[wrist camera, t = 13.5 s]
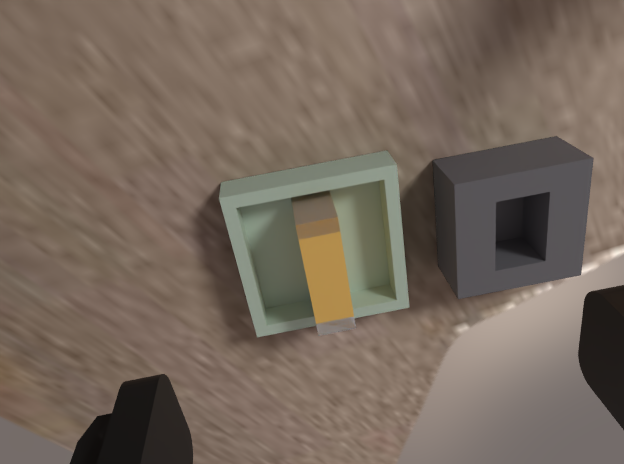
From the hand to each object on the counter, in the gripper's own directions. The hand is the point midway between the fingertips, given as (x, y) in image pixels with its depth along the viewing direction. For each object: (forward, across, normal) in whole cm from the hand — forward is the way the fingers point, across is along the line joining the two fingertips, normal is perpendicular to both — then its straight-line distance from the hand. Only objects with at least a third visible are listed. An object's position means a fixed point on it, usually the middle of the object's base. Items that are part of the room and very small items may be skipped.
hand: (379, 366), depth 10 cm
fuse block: (+30, -15, +14) cm, 36 cm away
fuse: (+27, 0, +19) cm, 33 cm away
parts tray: (+30, 0, +14) cm, 33 cm away
